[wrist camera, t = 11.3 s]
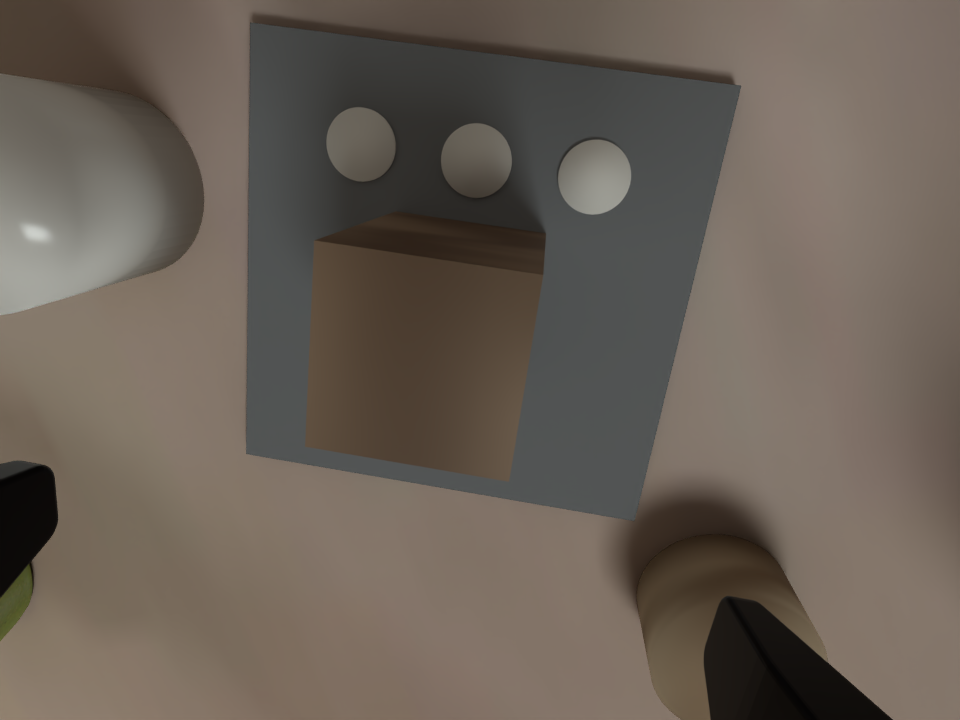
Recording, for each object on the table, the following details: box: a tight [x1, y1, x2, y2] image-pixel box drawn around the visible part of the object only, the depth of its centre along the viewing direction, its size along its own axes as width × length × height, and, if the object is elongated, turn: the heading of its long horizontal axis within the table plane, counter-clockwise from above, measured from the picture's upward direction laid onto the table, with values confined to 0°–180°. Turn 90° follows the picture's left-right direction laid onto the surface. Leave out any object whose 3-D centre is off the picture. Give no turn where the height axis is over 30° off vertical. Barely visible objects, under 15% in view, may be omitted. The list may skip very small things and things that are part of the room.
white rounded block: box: [0, 73, 204, 315], centre depth 15 cm, size 5×5×5 cm
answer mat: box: [246, 23, 741, 521], centre depth 17 cm, size 12×12×1 cm
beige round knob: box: [637, 534, 828, 720], centre depth 18 cm, size 5×5×3 cm
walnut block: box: [305, 211, 546, 482], centre depth 14 cm, size 4×4×6 cm
